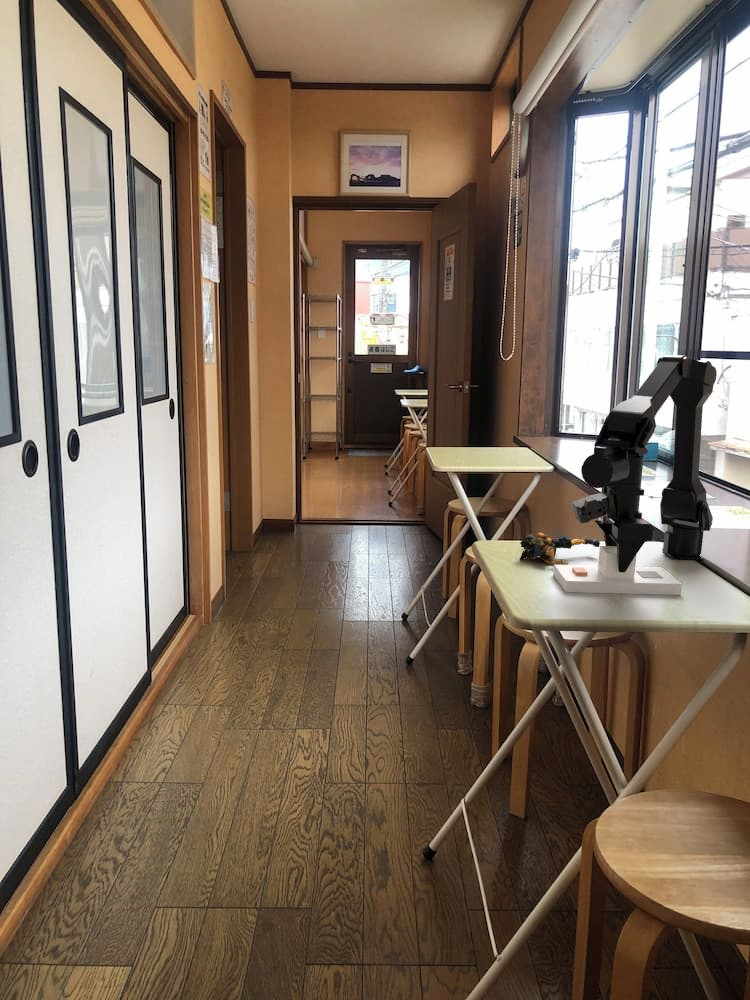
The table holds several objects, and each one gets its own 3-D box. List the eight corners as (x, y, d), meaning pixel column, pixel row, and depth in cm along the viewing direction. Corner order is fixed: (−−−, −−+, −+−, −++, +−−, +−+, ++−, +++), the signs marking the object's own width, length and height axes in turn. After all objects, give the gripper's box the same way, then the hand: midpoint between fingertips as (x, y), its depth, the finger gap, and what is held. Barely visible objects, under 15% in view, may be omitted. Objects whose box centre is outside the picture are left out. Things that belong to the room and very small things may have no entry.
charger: (625, 581, 148) (628, 546, 147) (633, 589, 144) (636, 553, 143) (596, 580, 148) (599, 545, 147) (603, 588, 144) (606, 552, 143)
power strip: (660, 577, 151) (662, 564, 151) (680, 594, 141) (682, 580, 141) (553, 575, 151) (554, 561, 150) (565, 592, 141) (566, 577, 141)
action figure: (600, 557, 166) (587, 575, 152) (527, 547, 172) (509, 563, 158) (602, 530, 165) (590, 545, 151) (529, 521, 171) (511, 535, 157)
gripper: (565, 471, 151) (559, 551, 155) (592, 490, 133) (584, 581, 136) (625, 472, 151) (618, 553, 155) (660, 492, 133) (651, 583, 136)
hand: (616, 566), depth 146 cm, fingers open, 6 cm apart
